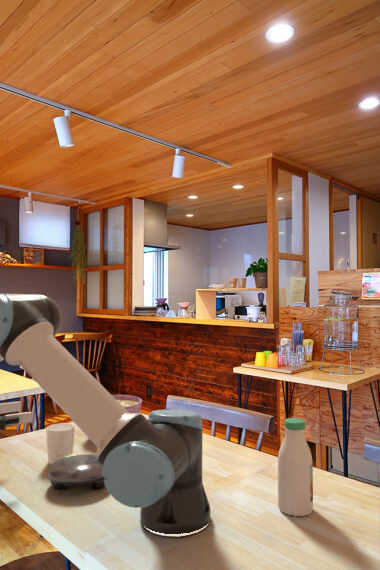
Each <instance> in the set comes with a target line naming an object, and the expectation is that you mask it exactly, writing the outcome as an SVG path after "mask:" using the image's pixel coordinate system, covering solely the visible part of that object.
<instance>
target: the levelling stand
mask: <svg viewBox="0 0 380 570" xmlns="http://www.w3.org/2000/svg"><path fill="white" fill-rule="evenodd" d="M47 476H48V478H49V480H50V481H49V482H50V485H52V491H54V492H62V491H65V490H66V489H67V486H68V485H70V486H72V485H73V486H74V485H78V486H79V485H85V484H90V485H91V490H93V491H100V490H101V491H102V490H103V489H105V484H104V480H105V477H104V476H103V466H102V465H101V463H100V462H99V461H98V460H97V454H87V453H86V454H76V453H74V454H73V453H72V455H68V456H64V458H62V459H60V460H57V461H55V462H54V463H52V464H51V465H50V464H49V467H48V475H47Z"/></svg>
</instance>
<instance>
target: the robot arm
mask: <svg viewBox="0 0 380 570" xmlns="http://www.w3.org/2000/svg"><path fill="white" fill-rule="evenodd" d="M62 322H63V316H62V312H61V309H60V307H59V305H58V303H57V302H55V300H54V299H51V298H50V297H48V296H46V295H44V294H40V293H39V294H37V293H32V294H31V293H29V294H28V293H26V294H25V293H21V294H20V293H3V292H0V362H2V361H5V362H6V363H7V364H8V365H10V366H20V367H22V368H23V370H24V371H25V372H26V373H27V374H28V375H29V376H30V377H31V378H32V379H33V380H34V381H35V382H36V383H37V385H39V387H40V388H41V389H42V390H43V391H44V392H45V393H46V394H47V395H48V397H50V398H51V399H52V400H53V402H54V403H55V404H56V405H57V407H59V408H60V410H62V411H63V412H64V413H65V414H66V416H67V417H68V418H69V419H70V420H71V421H72V422H73V423H74V425H76V426H77V427H78V428H79V430H81V432H82V433H84V435H85V436H86V437H87V438H88V439H89V440H90V441H91V442H92V443H93V445H94V446H95V447H96V455H97V460H98V461H99V462H100V463H101V465H102V466H103V476H104V477H105V480H104V487H105V489H106V490H107V491H108V493H109V495H111V496H112V498H114V500H116V501H117V502H119V503H120V504H122V505H124V506H126V507H128V508H134V509H135V508H136V509H137V508H140V513H139V514H140V519H139V521H140V522H139V523H140V525H141V527H143V526H145V527H146V528H148V529H150V530H152V531H155V532H159V533H164V534H181V533H182V534H183V533H190V532H193V531H196V530H199V529H201V528H203V527H204V526H206V525H207V524H208V523H209V521H210V522H211V506H210V503H209V499H208V495H207V493H206V489H205V488H204V484H203V431H204V428H203V419H202V416H201V415H200V414H199V413H197V412H194V411H189V410H182V409H157V410H154V411H151V412H149V415H148V418H146V417H145V416H144V415H143V414H142V413H141V412H140V413H129V412H128V411H127V410H126V409H125V408H124V407H123V406H122V405H121V404H120V403H119V402H118V401H117V400H116V399H115V398H114V397H113V396H112V395H113V394H111V393H110V392H109V391H108V390H107V389H106V388H105V387H104V386H103V385H102V384H101V383H100V382H99V381H98V379H96V378H95V377H94V376H93V375H92V374H91V373H90V372H89V371H88V370H87V369H86V368H85V367H84V366H83V364H82V363H80V361H78V359H76V358H75V357H74V356H73V355H72V354H71V353H70V352H69V351H68V349H66V347H65V346H63V345H62V344H61V343H60V342H59V341H58V339H56V338H55V337H56V336H57V335H58V333H59V331H60V329H61V327H62V324H63V323H62ZM21 404H22V403H21V400H20V401H12V402H11V401H10V402H2V403H0V414H5V415H4V416H0V430H1V431H6V427H11V426H16V425H17V426H18V425H23V424H24V425H25V424H30V423H32V419H33V418H32V416H33V415H32V414H33V413H32V411H28V412H21ZM16 412H18V413H16ZM8 413H12V414H8ZM209 524H210V523H209Z"/></svg>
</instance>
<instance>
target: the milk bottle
mask: <svg viewBox="0 0 380 570" xmlns="http://www.w3.org/2000/svg"><path fill="white" fill-rule="evenodd" d="M283 422H284V423H283V424H284V430H285V435H284V439H283V441H282V443H281V445H280V447H279V451H278V455H277V506H278V509H279V510H280V512H282V513H283V512H284V513H283V514H285V513H286V514H285V515H287V514H290V515H295V516H294V517H296V516H303V517H306V516H305V515H307V516H309V515H311V514H312V513H313V510H314V477H313V475H314V472H313V471H314V469H313V468H314V467H313V466H314V465H313V457H312V452H311V448H310V446H309V444H308V442H307V440H306V436H305V431H306V421H305V420H304V419H302V418H298V417H297V418H296V417H288V418H286V419H285V420H284V421H283ZM310 513H311V514H310ZM308 514H309V515H308ZM290 515H289V516H290Z"/></svg>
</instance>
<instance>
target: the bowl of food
mask: <svg viewBox="0 0 380 570" xmlns="http://www.w3.org/2000/svg"><path fill="white" fill-rule="evenodd" d="M111 395H112V396H113V397H114V398H115V399H116V400H117V401H118V402H119V403H120V404H121V405H122V406H123V407H124V408H125V409H126V410H127V411H128V412H129V413H141V408H142V404H143V399H142V398H141V397H138V396H134V395H128V394H111Z"/></svg>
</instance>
